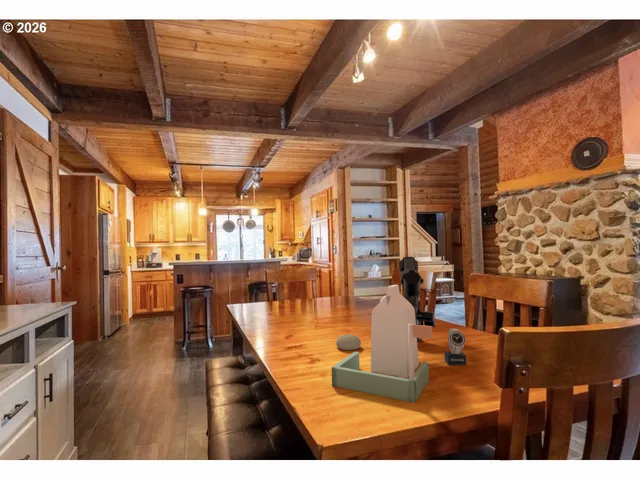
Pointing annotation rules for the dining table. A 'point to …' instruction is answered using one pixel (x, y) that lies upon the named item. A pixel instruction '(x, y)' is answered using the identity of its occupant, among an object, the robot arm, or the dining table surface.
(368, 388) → the corral
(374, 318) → the milk
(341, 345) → the sea urchin shell
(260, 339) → the dining table surface
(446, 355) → the watch
